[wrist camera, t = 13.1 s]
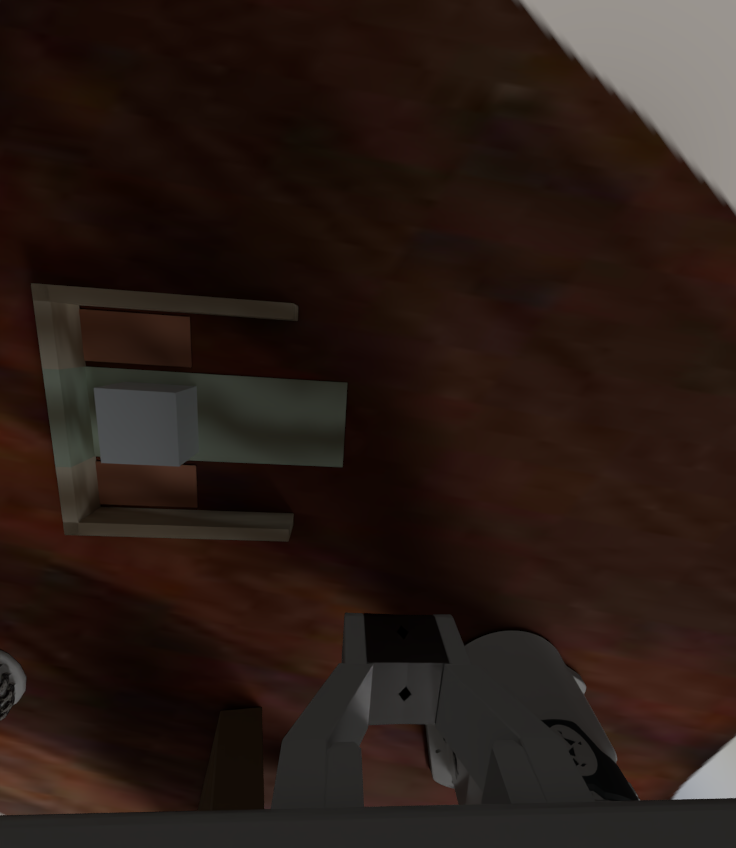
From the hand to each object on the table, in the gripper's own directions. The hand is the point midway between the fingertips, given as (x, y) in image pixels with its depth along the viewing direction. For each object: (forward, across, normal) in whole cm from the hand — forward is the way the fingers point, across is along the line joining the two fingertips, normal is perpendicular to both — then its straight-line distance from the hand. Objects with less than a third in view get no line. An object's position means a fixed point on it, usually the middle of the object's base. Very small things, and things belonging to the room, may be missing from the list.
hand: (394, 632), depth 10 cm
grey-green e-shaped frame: (+24, +13, 0) cm, 27 cm away
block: (+24, +18, 0) cm, 30 cm away
